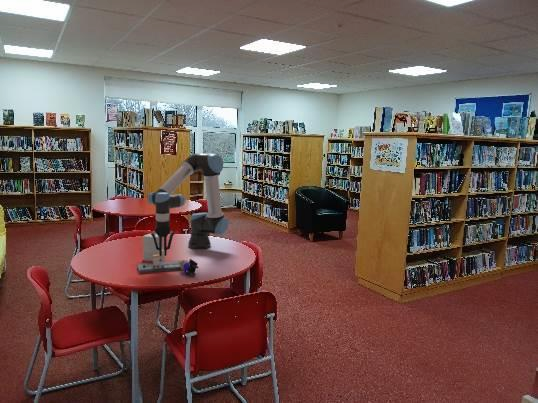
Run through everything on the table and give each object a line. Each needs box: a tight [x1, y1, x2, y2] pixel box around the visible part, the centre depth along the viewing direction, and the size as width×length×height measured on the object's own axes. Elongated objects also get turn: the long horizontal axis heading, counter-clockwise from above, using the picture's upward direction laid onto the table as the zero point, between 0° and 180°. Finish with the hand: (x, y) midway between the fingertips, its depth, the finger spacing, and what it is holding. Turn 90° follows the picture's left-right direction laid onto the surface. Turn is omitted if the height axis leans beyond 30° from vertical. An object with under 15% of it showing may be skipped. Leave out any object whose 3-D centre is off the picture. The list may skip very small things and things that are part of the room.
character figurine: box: [179, 258, 199, 276], centre depth 224 cm, size 8×7×15 cm
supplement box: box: [142, 232, 164, 262], centre depth 248 cm, size 9×9×15 cm
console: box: [137, 259, 189, 275], centre depth 232 cm, size 28×12×3 cm, turn 111°
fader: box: [152, 255, 160, 266], centre depth 230 cm, size 3×3×6 cm
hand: (162, 261), depth 231 cm, fingers closed
